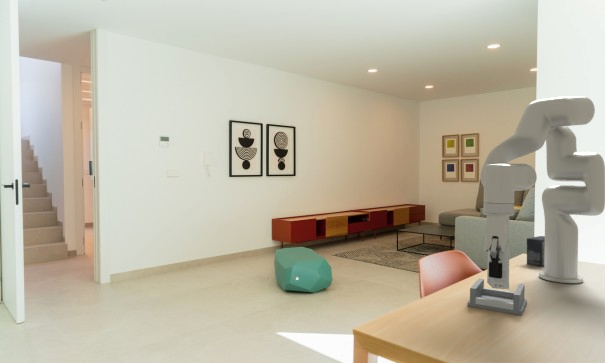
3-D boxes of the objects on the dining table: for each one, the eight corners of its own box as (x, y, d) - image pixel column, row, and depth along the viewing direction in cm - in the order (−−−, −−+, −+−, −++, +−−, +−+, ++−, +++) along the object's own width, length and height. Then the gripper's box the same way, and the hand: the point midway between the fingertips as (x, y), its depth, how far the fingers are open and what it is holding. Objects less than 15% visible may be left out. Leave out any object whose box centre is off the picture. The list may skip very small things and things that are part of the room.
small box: (540, 260, 166) (540, 235, 166) (556, 263, 161) (557, 237, 161) (525, 264, 161) (525, 237, 161) (542, 267, 155) (542, 239, 155)
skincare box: (509, 289, 108) (510, 244, 108) (492, 288, 109) (492, 243, 108) (503, 283, 114) (503, 240, 113) (486, 282, 115) (487, 240, 114)
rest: (476, 294, 120) (476, 278, 120) (526, 302, 113) (527, 284, 113) (467, 306, 110) (467, 287, 110) (522, 315, 103) (522, 295, 103)
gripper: (489, 206, 120) (488, 266, 120) (477, 211, 106) (476, 279, 106) (517, 208, 116) (517, 270, 116) (509, 212, 101) (508, 283, 102)
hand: (497, 274), depth 111 cm, fingers closed on skincare box, 7 cm apart
